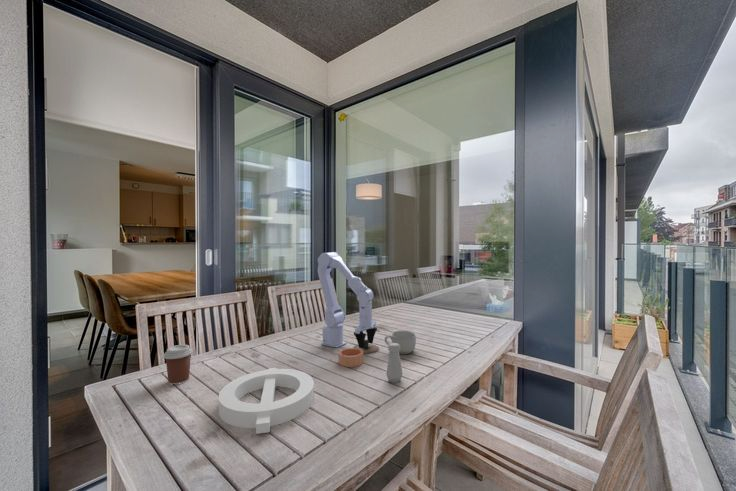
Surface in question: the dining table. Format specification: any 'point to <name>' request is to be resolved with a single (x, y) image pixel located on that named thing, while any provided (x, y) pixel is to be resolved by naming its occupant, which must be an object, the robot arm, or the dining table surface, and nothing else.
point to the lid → (368, 348)
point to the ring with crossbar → (266, 399)
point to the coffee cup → (178, 363)
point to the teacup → (403, 341)
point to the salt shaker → (394, 363)
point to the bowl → (351, 357)
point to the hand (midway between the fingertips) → (365, 345)
